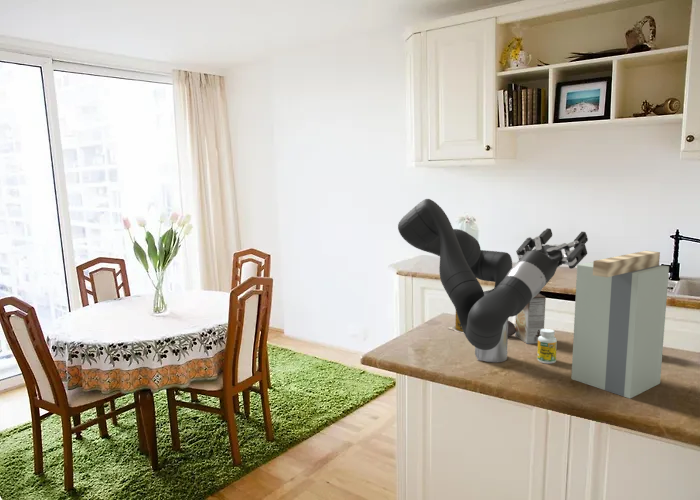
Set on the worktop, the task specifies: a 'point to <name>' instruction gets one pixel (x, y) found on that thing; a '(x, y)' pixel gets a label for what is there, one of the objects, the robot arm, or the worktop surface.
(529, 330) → the coffee box
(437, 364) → the worktop surface
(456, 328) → the condiment
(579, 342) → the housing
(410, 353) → the worktop surface
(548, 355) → the supplement bottle
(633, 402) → the worktop surface
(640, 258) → the beech rod
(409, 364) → the worktop surface
